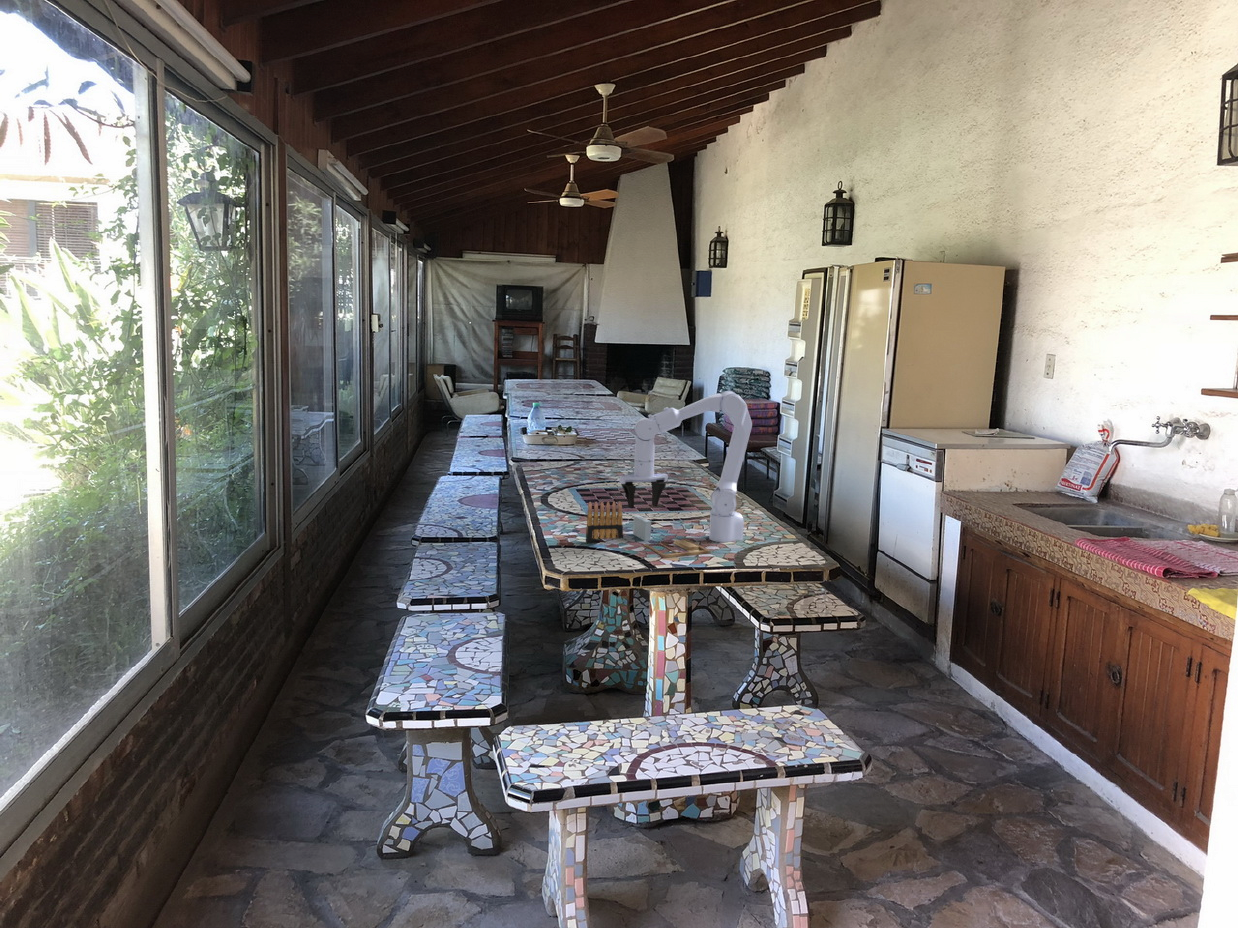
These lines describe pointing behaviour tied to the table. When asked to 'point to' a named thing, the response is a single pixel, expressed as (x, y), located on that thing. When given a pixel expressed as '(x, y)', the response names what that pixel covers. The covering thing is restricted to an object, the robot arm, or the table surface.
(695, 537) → the table surface
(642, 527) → the block
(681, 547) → the offcut birch
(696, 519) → the table surface
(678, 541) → the offcut oak
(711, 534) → the robot arm
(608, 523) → the ammunition clip
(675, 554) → the rack
